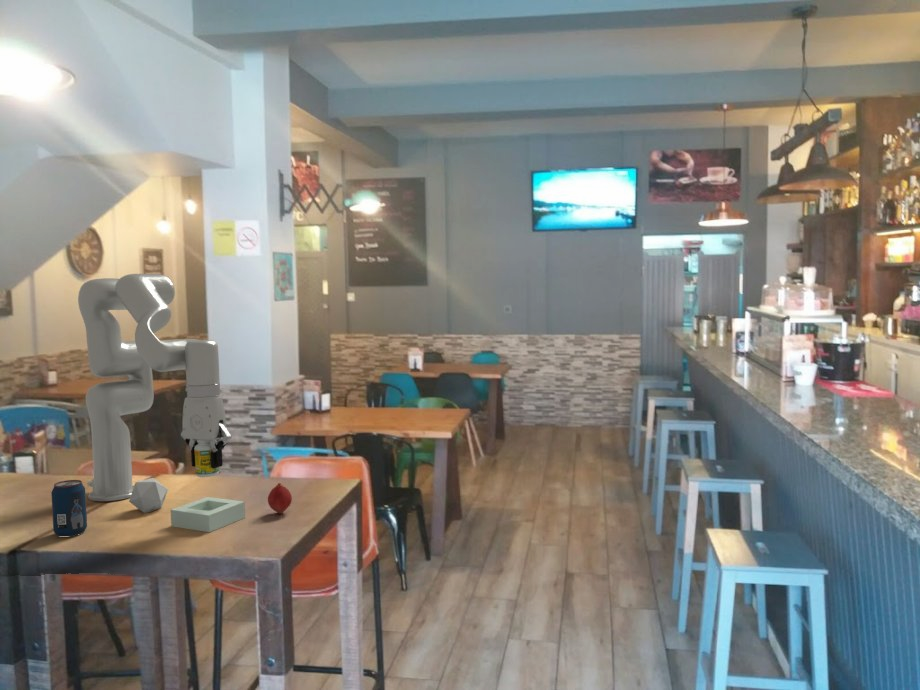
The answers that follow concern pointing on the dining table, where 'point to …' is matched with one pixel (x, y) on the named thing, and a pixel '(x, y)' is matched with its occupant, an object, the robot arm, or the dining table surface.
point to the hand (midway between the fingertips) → (207, 465)
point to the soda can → (69, 508)
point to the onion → (279, 498)
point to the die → (148, 495)
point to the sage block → (207, 514)
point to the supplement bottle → (204, 459)
